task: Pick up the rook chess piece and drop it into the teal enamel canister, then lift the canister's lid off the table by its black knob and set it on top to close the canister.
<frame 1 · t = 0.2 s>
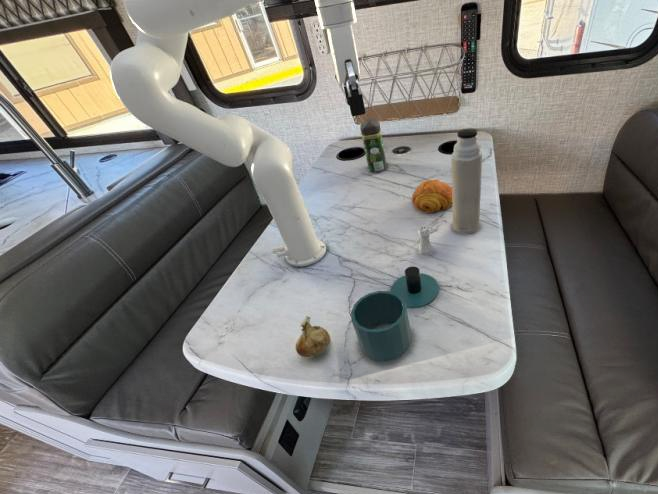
hand: (356, 109, 80), 37 cm above the table, tool pointing down, fingers open, 9 cm apart
canister lid: (414, 290, 85), point 1 cm above the table
thermos bottle: (465, 227, 104), on the table
coffee jar: (377, 168, 142), on the table
rook chess piece: (426, 252, 97), on the table
canister: (386, 341, 76), on the table
onion: (316, 350, 77), on the table
croissant: (434, 203, 116), on the table
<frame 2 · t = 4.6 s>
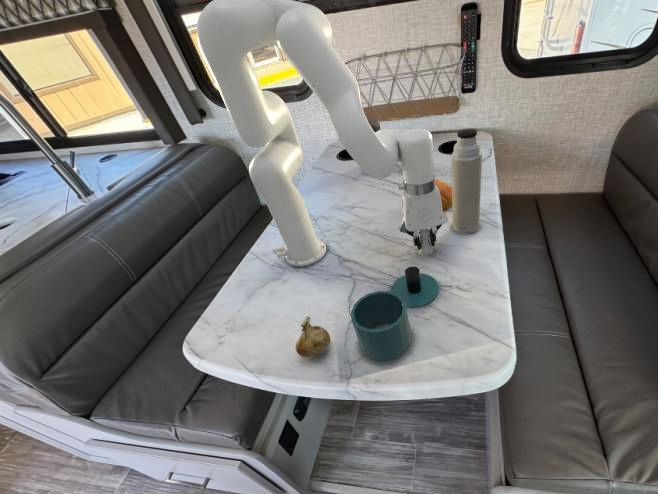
hand: (425, 244, 95), 3 cm above the table, tool pointing down, fingers closed on rook chess piece, 3 cm apart
rook chess piece: (426, 252, 97), on the table, touching gripper
everything else where it was.
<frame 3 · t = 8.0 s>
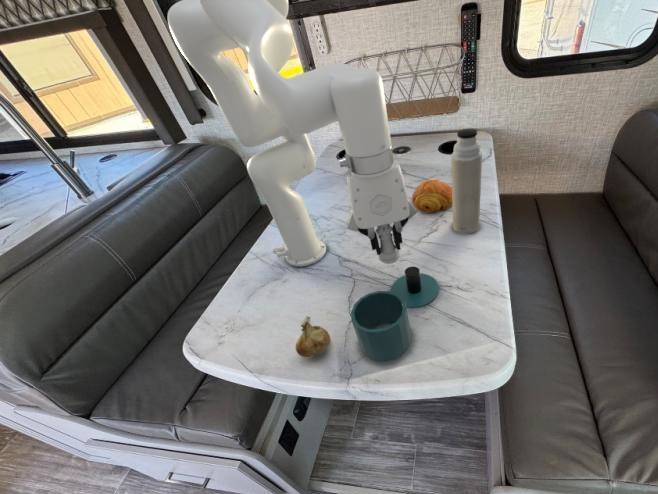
hand: (387, 247, 68), 19 cm above the table, tool pointing down, fingers closed on rook chess piece, 3 cm apart
rook chess piece: (389, 258, 70), point 16 cm above the table, touching gripper
everything else where it was.
when the fingers open (10 cm above the table, at t = 11.4 s): rook chess piece drops 6 cm, resting on canister.
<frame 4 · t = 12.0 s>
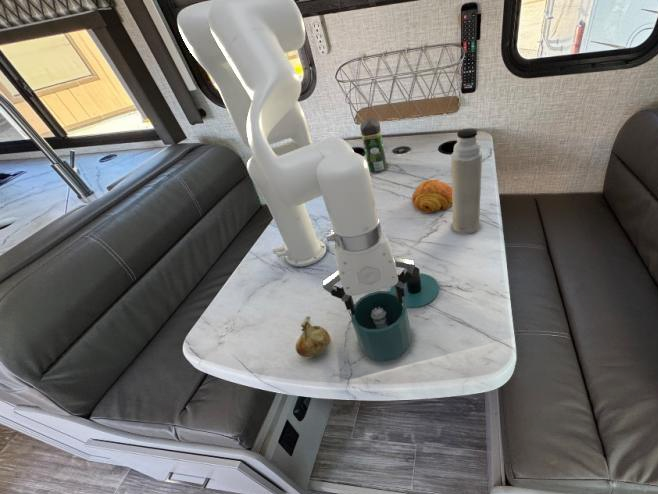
hand: (376, 304, 67), 12 cm above the table, tool pointing down, fingers open, 9 cm apart
rook chess piece: (384, 339, 75), point 1 cm above the table, touching canister
everything else where it was.
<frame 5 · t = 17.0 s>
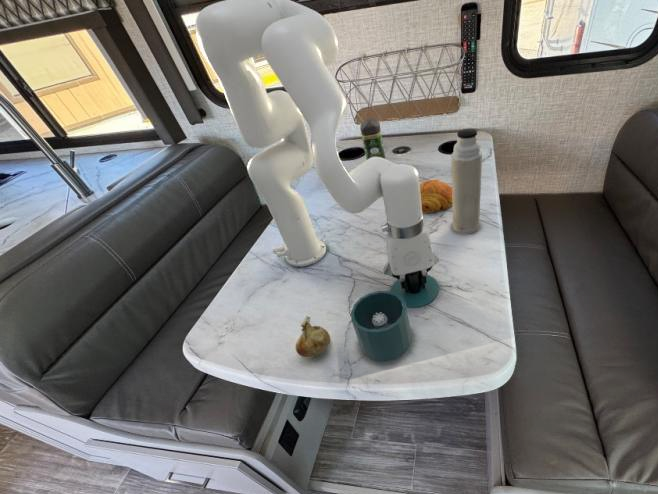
hand: (414, 286, 85), 2 cm above the table, tool pointing down, fingers closed on canister lid, 3 cm apart
canister lid: (414, 290, 85), point 1 cm above the table, touching gripper
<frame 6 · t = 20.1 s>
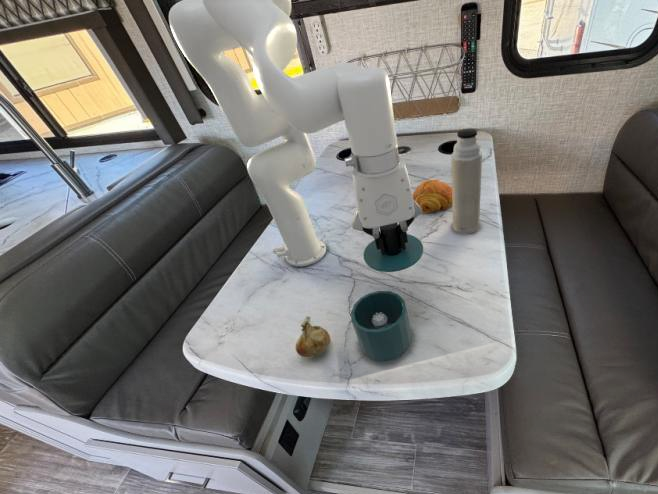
hand: (392, 247, 68), 19 cm above the table, tool pointing down, fingers closed on canister lid, 3 cm apart
canister lid: (393, 252, 69), point 18 cm above the table, touching gripper
everything else where it was.
when the fingers open (12 cm above the table, at t = 23.6 s): canister lid stays where it is, resting on canister.
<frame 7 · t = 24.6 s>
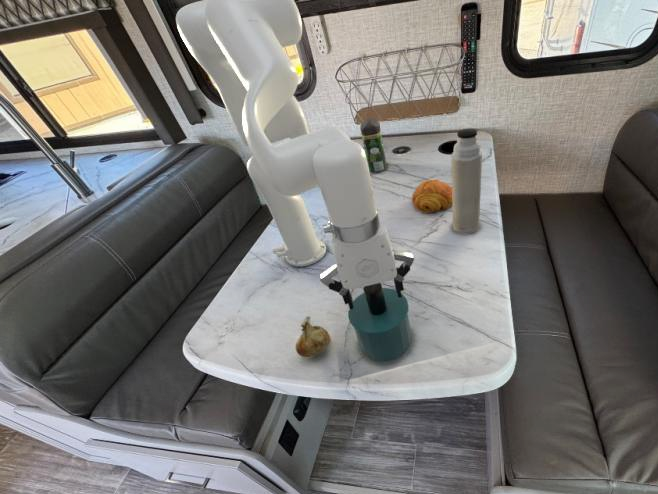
hand: (375, 298, 66), 14 cm above the table, tool pointing down, fingers open, 9 cm apart
canister lid: (378, 310, 68), point 10 cm above the table, touching canister
everything else where it was.
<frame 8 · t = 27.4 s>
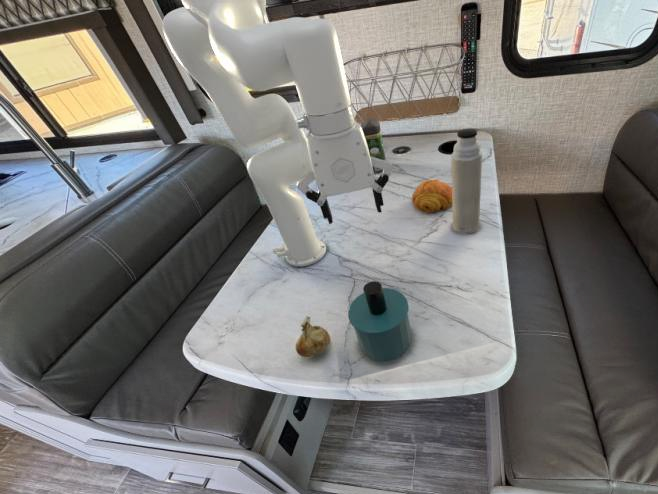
hand: (354, 214, 65), 26 cm above the table, tool pointing down, fingers open, 9 cm apart
nothing on the table moved.
at the end: rook chess piece inside the target area in the canister (0.2 cm from its centre), point 0.3 cm above the canister's base; canister lid 0.1 cm off-centre on the canister, point 10.5 cm above the canister's base; canister lid tilted 0° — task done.
